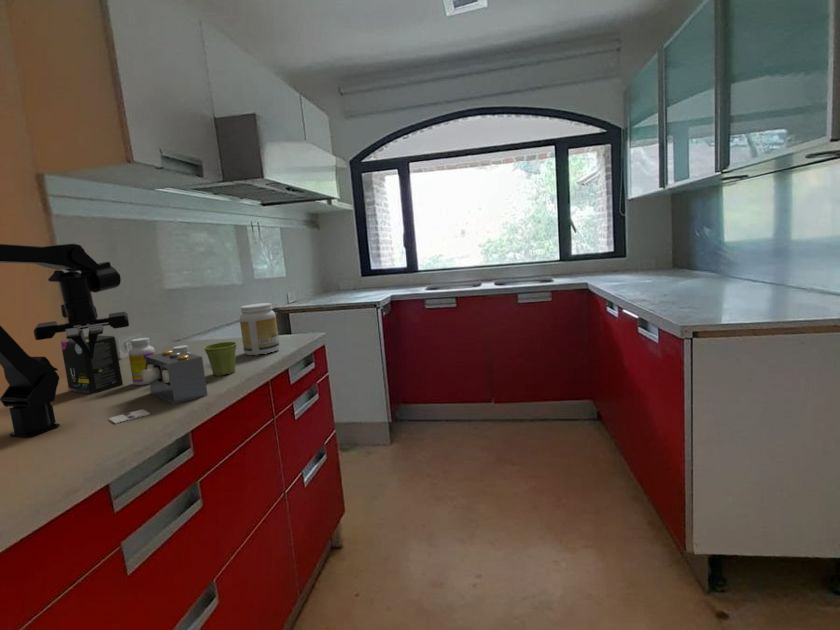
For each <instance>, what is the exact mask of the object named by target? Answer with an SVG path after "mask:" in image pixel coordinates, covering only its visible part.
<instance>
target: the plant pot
mask: <svg viewBox="0 0 840 630" xmlns="http://www.w3.org/2000/svg"><path fill="white" fill-rule="evenodd" d="M237 345H238V342H236V341H223V342H217V343H212V344H208V345H205V346H204V347H202V348H203V350H204V352H205V354H206V355H207V359H208V361H209V364H210V366H211V367H210V368H211V371H212V374H213V375H214V376H216V377H217V376H218V377H221V376H222V375H223V376H225V375H230V374H231V373H232V374H233V372H234V373H236V350H237Z"/></svg>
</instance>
